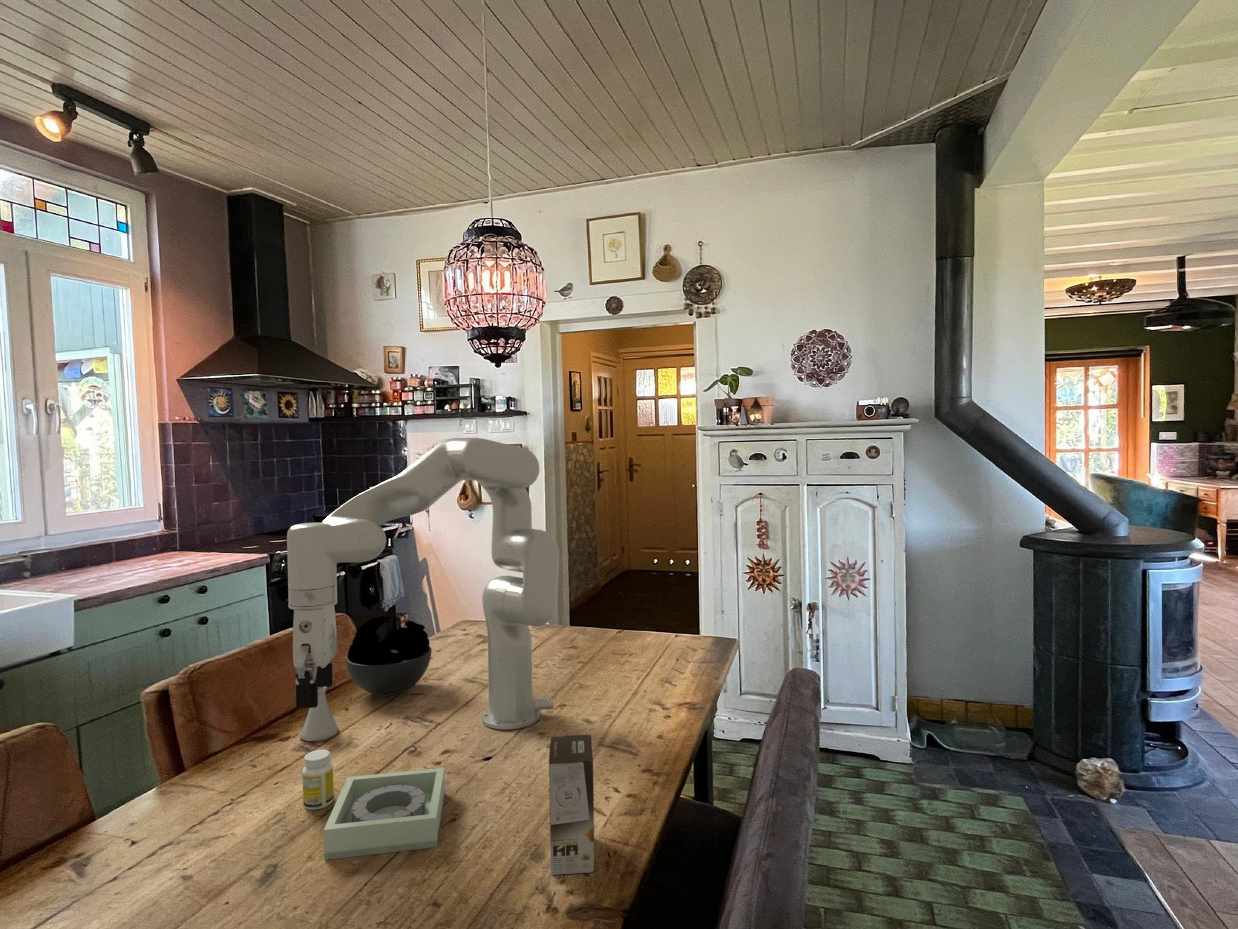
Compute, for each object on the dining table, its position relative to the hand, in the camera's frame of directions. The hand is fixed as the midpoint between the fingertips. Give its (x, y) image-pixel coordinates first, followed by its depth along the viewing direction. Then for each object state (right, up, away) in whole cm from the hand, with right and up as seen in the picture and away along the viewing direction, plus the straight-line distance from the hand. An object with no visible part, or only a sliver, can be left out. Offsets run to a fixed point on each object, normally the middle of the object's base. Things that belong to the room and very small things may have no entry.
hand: (315, 696), depth 114 cm
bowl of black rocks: (-5, -17, +51) cm, 54 cm away
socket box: (+15, -18, -6) cm, 24 cm away
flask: (-12, -18, +28) cm, 35 cm away
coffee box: (+45, -19, -15) cm, 51 cm away
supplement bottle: (0, -19, +1) cm, 19 cm away
